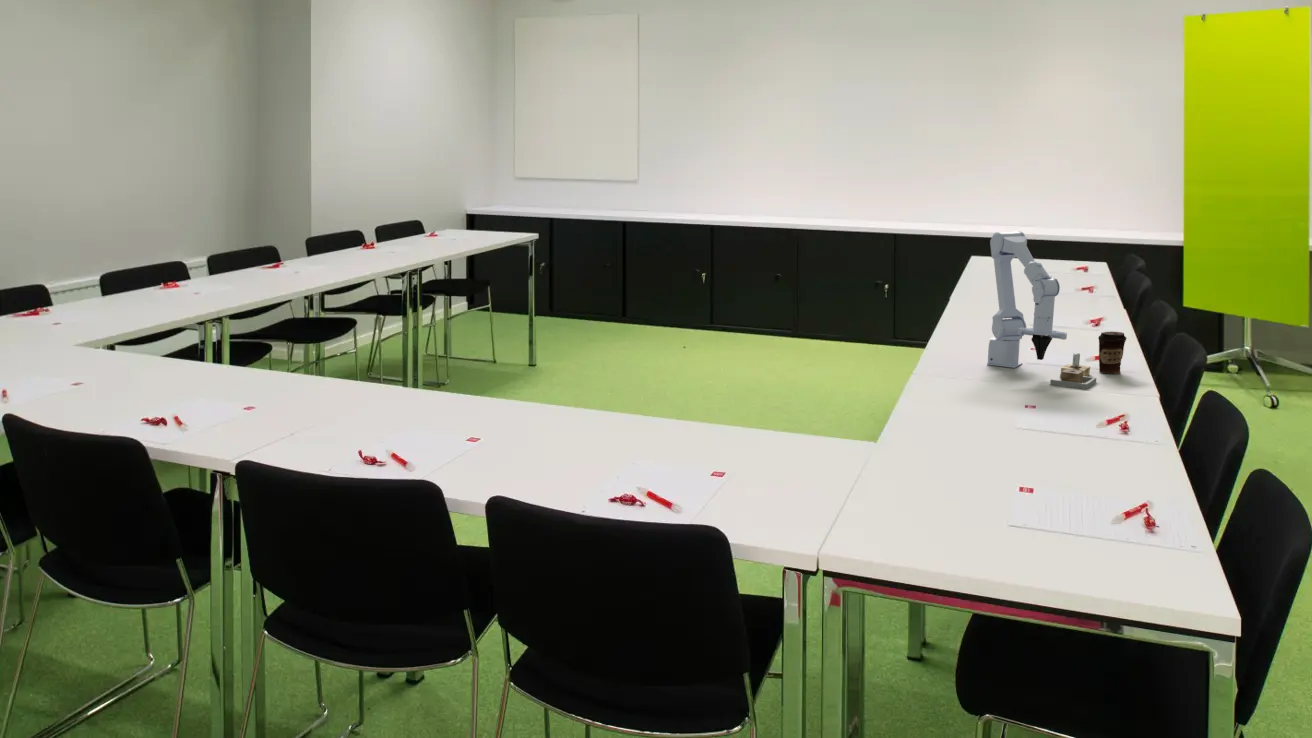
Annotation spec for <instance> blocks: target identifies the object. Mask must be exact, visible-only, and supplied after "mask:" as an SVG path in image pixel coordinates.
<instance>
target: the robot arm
mask: <svg viewBox="0 0 1312 738" xmlns="http://www.w3.org/2000/svg"><path fill="white" fill-rule="evenodd" d="M989 242H990V243H989V244H990V254H991V258H992V259H993V266H994V275H995V283H996V291H997V300H998V301H997V302H998V308H999V310H998V311H997V312H996V313H995V314H994V315H993V316H992V325H991V331H992V334H993V336H994V337H991V338H990V340H989V343H988V350H987V352H988V353H987V363H986V365H988V366H995V367H996V366H998V367H1005V368H1012V369H1014V368H1017V367H1020V366H1021V365H1022V364H1023V362H1021V361H1019V356H1020V342H1021V340H1023V337H1024V336H1032V337H1031V342H1032V344H1033V346H1034V350H1035V353H1036V360H1039V361H1040V360H1041V361H1042V360H1044V359H1045V354H1046V351H1047V349H1048V347H1049V345H1050V343H1051V342H1052V340H1053V339H1060V340H1061V341H1062V340H1063V341H1064V340H1067V337H1068V335H1067V334H1068V333H1067V332H1064V331H1059V330H1058V331H1057V330H1053V325H1054V324H1053V323H1054V310H1055V301H1056V300H1055V298H1056V297H1057V296H1058V295H1059V294H1060V290H1061V289H1060V288H1061V286H1060V282H1059V281H1058V279H1057V278H1056V277H1053V276H1050V275H1049V273H1048V272H1047V270H1046V269H1045V268H1044V266H1043V264H1042V263H1041V262H1040V261H1035V259H1034V257H1033V256H1032V253H1031V252H1030V250H1029V248H1028V245H1027V244H1028V239H1027V236H1026V235H1025V233H1024V232H1023V231H1021V230H1019V231H1010V232H1009V231H1007V232H1006V231H1002V232H1000V231H996V232H994V233H993V235H992V236H991V238H990V241H989ZM1015 258H1017V259H1018V260H1019V262H1020V263H1021V264H1022V265H1023V267H1024V269H1023V273H1024V275H1025V276H1026V278H1027V280H1028V281H1029V283H1030V284H1031V293H1032V295H1033V302H1034V312H1033V313H1034V314H1033V325H1032V328H1031V327H1030V328H1029V327H1027V324H1026V321H1025V319H1024V314H1023V312H1021V311H1020V310H1019V309H1017V306H1016V296H1015V287H1014V280H1013V272H1012V271H1013V270H1012V260H1013V259H1015Z"/></svg>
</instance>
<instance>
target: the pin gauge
mask: <svg viewBox="0 0 1312 738" xmlns="http://www.w3.org/2000/svg"><path fill="white" fill-rule="evenodd" d="M1080 357H1081V354H1080V352H1079V353H1077V352H1075V353H1074V352H1073V355H1072V368H1077V369H1079V365H1080V359H1081V358H1080Z"/></svg>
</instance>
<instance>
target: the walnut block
mask: <svg viewBox="0 0 1312 738" xmlns="http://www.w3.org/2000/svg"><path fill="white" fill-rule="evenodd" d="M1060 374H1061V379H1060V380H1061V381H1069V382H1077V383H1083V381H1082V380H1083V371H1080V370H1072V369H1066V370H1064V371H1062V372H1061V371H1060Z"/></svg>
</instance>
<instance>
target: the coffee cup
mask: <svg viewBox="0 0 1312 738" xmlns="http://www.w3.org/2000/svg"><path fill="white" fill-rule="evenodd" d="M1097 339H1098V367H1099V369H1098V370H1099V373H1102V374H1109V375H1110V374H1111V375H1113V374H1114V375H1115V374H1116V375H1117V374H1121V365H1122V359H1123V357H1124V350H1125V344H1126V341H1127V337H1126V336H1125V333H1124V332H1122V331H1121V332H1119V331H1105V332H1101V333H1100V335H1099V336H1098V338H1097Z"/></svg>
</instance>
